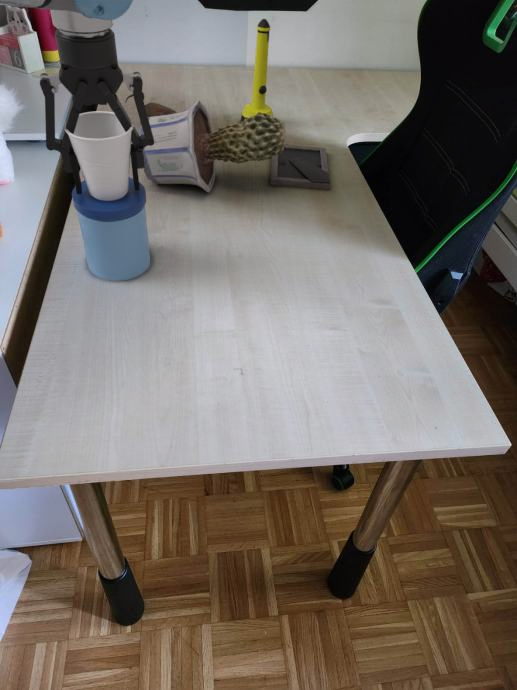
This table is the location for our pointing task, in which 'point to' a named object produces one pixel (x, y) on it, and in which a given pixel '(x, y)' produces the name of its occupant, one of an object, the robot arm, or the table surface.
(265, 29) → the flashlight
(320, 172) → the picture frame
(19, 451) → the table surface
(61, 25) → the robot arm
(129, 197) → the blue lidded canister
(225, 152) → the potted plant
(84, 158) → the cup
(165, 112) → the figurine
